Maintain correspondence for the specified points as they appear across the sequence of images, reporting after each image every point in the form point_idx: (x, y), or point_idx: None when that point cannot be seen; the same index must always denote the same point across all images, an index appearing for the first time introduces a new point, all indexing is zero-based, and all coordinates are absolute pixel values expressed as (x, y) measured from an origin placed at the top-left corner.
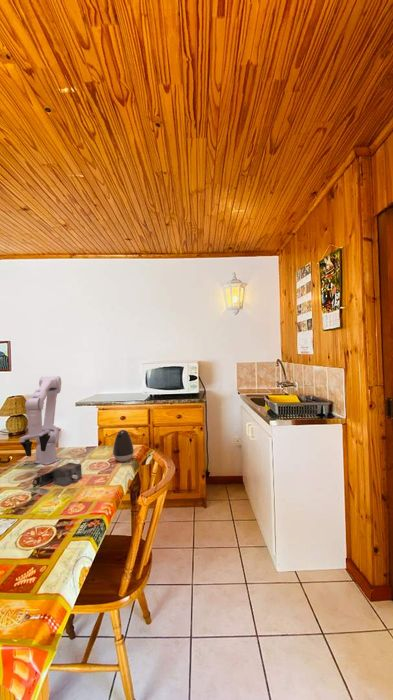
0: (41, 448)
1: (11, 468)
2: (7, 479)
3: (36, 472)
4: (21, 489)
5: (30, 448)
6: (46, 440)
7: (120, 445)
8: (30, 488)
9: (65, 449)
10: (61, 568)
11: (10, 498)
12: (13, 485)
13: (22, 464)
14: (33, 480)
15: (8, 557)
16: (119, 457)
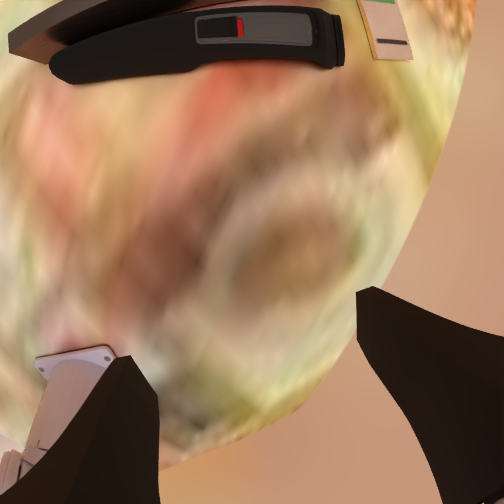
0: (151, 419)
1: (270, 418)
2: None
3: (210, 272)
4: (409, 57)
5: (454, 340)
6: (53, 491)
7: None
8: (383, 7)
9: (20, 436)
10: None
11: (458, 30)
12: (404, 166)
13: (212, 432)
14: (344, 59)
15: None
16: None
